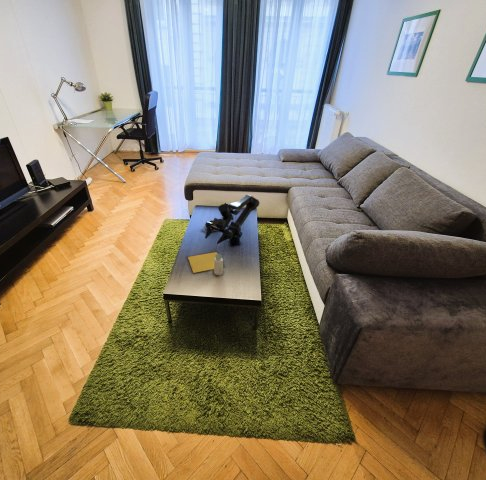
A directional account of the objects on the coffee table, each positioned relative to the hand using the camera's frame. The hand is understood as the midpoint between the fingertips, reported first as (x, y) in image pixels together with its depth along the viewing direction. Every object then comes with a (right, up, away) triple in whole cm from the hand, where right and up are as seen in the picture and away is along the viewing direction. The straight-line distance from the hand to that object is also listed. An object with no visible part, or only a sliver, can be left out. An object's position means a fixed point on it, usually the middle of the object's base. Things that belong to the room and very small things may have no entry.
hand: (211, 241), depth 158 cm
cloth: (-4, -13, +7) cm, 15 cm away
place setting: (+3, +8, +40) cm, 41 cm away
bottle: (+4, -19, -1) cm, 19 cm away
